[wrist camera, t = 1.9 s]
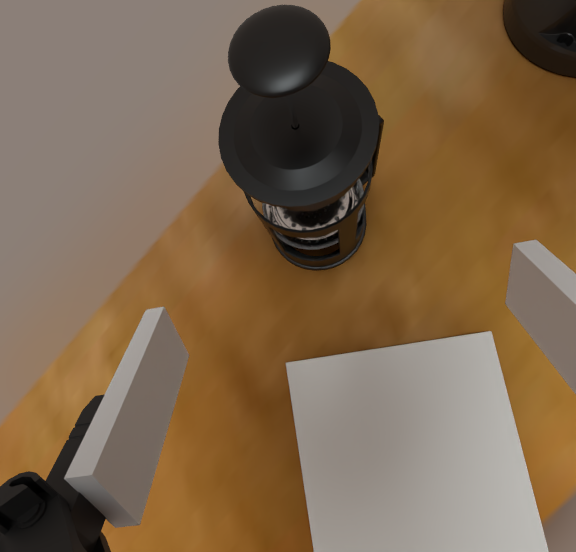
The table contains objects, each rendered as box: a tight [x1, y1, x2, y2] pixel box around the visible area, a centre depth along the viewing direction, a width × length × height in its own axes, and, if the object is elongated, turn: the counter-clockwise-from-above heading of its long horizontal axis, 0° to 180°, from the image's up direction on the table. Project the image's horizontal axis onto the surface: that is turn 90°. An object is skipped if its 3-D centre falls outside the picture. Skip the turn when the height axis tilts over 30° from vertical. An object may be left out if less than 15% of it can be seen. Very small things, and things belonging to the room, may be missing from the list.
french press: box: [219, 5, 384, 270], centre depth 26 cm, size 12×9×23 cm
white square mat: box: [286, 331, 549, 552], centre depth 32 cm, size 18×18×1 cm
